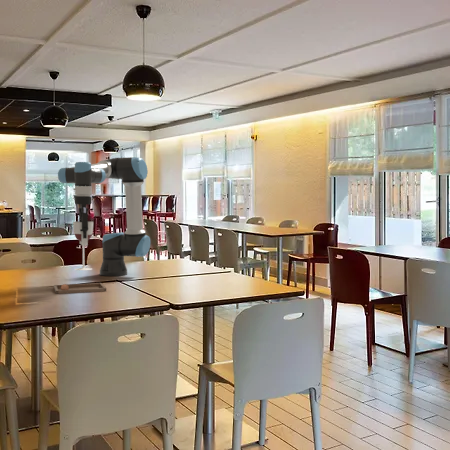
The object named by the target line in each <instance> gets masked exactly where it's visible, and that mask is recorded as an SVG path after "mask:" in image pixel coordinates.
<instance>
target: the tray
mask: <svg viewBox="0 0 450 450" xmlns="http://www.w3.org/2000/svg"><path fill="white" fill-rule="evenodd" d="M62 285H63V284H54V285H53V289H54V292H55V295H63V294H81V293H83V294H84V293H100V292H101V293H102V292H104V293H105V292H107V287H106V286H105V285H104V284H103V283H102V282H96V283H95V282H93V283H91V282H90V283H72V284H67V285H68V287H69V289H68V290H61V286H62Z"/></svg>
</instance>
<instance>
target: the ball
mask: <svg viewBox="0 0 450 450" xmlns="http://www.w3.org/2000/svg"><path fill="white" fill-rule="evenodd" d="M61 285H62V286H61V290H68V289H69V287H68V285H69V284H65V283H64V284H63V283H62V284H61Z"/></svg>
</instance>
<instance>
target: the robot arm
mask: <svg viewBox="0 0 450 450" xmlns="http://www.w3.org/2000/svg"><path fill="white" fill-rule="evenodd" d="M148 171H149V170H148V165H147V163H146V161H145V160H144V159H143V157H135V156H133V157H132V156H131V157H113V158H109V159H108V158H107V159H105V160H101V161H98V162H97V163H91V162H89V161H87V162H86V161H77V162H75V163H74V166H73V167H61V168H60V169H59V170H58V172H57V178H58V181H59V182H60V183H62V184H74V188H73V189H72V190H73V191H74V195H75V196H74V204H75V205H79V208H78V221H80V222H82V229H80V231H81V241H79V245H81V246H82V247H83V246H84V247H87V246H88V245H89V244H88V243H89V240H88V221H89V219H88V218H89V208H87V205H92V197H93V196H91V195H92V194H93V191H92V187H93V186H92V184H101V183H102V184H103V182H105V180H106V179H114V180H121V182H122V184H123V185H124V191H125V208H126V231H124V232H114V233H107V234H104V235H103V236H102V262H101V265H100V268H99V276H103V277H119V276H126V275H128V268H127V266H126V261H125V257H136V258H139V257H142V258H143V257H145V256H147V255H148V254H149V251H150V248H151V237H150V235H149V236H148V235H147V234H146V233H147V231H146V230H145V229H144V226H143V225H144V224H143V223H144V222H143V221H144V220H143V200H142V198H143V197H142V185H143V184H144V182H145V181H144V180H145V179H147V177H148Z"/></svg>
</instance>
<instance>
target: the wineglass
mask: <svg viewBox="0 0 450 450" xmlns="http://www.w3.org/2000/svg"><path fill="white" fill-rule="evenodd" d="M72 224H73V225H72V226H73V234H74V237H75V239H76V240H77V241H79V242H80V241H81V231H80V229H82V222H80V221H79V220H78V221H73V223H72ZM93 231H94V221H90V220H88V241H89V240H90V239H91V238H92V235H93ZM85 262H86V261H85V246H82V267H78V268H74V269H73V270H74V271H91V270H93V268H91V267H85V266H86V265H85Z"/></svg>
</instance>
